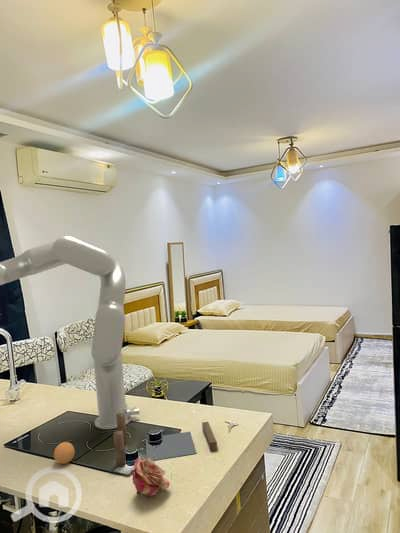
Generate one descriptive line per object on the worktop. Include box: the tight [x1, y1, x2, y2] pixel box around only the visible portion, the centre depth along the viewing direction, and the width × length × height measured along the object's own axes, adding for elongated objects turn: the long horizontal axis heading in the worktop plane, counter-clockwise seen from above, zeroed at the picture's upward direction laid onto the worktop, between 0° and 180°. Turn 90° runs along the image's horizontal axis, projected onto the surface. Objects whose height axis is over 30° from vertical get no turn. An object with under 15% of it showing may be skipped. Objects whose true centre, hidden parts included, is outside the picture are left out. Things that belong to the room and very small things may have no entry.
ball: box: [53, 441, 76, 465], centre depth 112 cm, size 6×6×6 cm
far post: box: [116, 413, 128, 446], centre depth 121 cm, size 3×3×9 cm
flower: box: [130, 457, 171, 501], centre depth 94 cm, size 10×9×8 cm
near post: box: [113, 430, 127, 468], centre depth 108 cm, size 3×3×9 cm
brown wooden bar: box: [201, 421, 218, 452], centre depth 119 cm, size 2×14×2 cm, turn 9°
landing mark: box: [145, 431, 197, 462], centre depth 117 cm, size 14×14×1 cm
